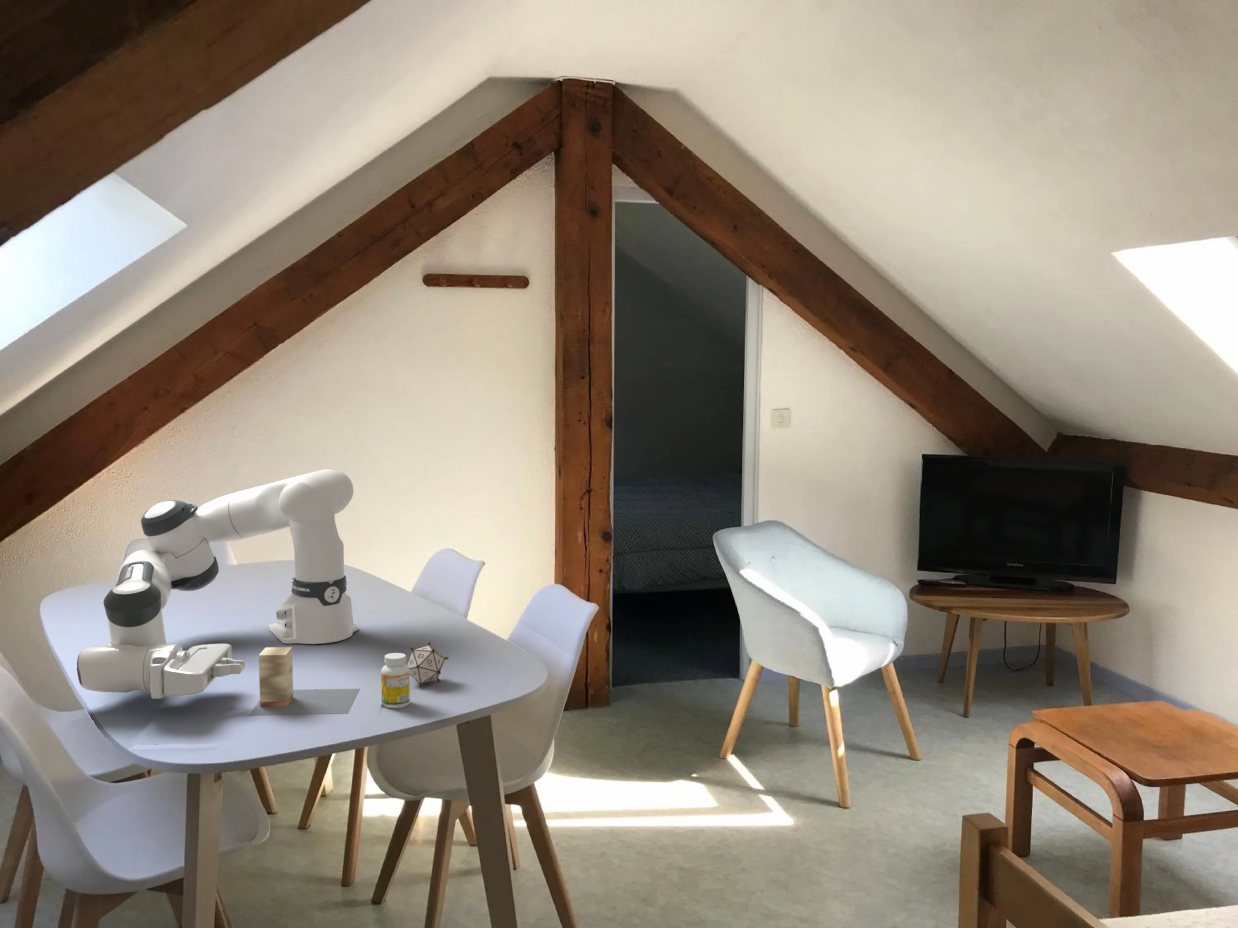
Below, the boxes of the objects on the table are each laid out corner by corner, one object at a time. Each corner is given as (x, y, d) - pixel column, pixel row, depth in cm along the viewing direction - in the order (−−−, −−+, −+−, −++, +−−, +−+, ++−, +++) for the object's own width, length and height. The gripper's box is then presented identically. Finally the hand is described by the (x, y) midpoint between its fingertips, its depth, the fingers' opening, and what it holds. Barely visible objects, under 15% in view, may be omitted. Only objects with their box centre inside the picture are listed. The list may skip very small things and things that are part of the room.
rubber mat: (248, 718, 193) (248, 715, 192) (267, 693, 206) (267, 690, 206) (347, 716, 194) (347, 713, 194) (359, 691, 208) (359, 688, 208)
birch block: (260, 706, 197) (258, 655, 196) (266, 697, 202) (265, 647, 201) (287, 706, 197) (286, 654, 196) (293, 697, 202) (291, 647, 201)
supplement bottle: (406, 709, 198) (406, 660, 197) (378, 708, 198) (377, 659, 197) (412, 699, 204) (412, 651, 203) (385, 699, 204) (384, 651, 203)
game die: (424, 697, 216) (434, 651, 221) (450, 691, 211) (459, 644, 216) (389, 684, 211) (400, 637, 216) (415, 677, 205) (425, 630, 210)
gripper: (186, 666, 207) (257, 666, 208) (149, 702, 187) (228, 700, 188) (185, 636, 207) (256, 635, 208) (147, 667, 186) (227, 667, 188)
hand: (243, 666), depth 198 cm, fingers closed
